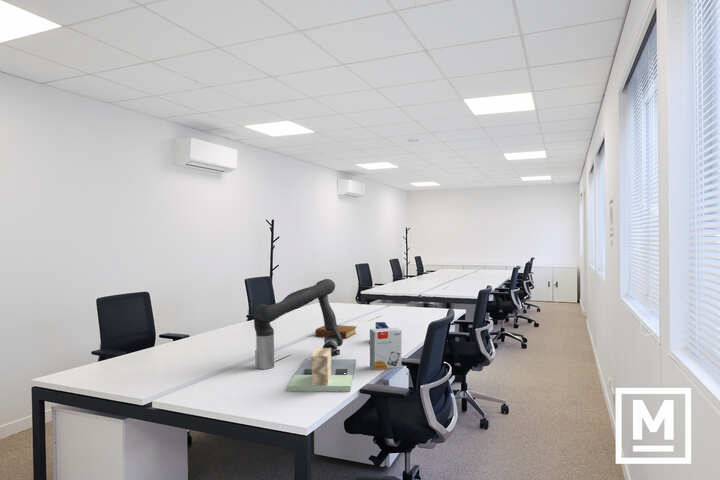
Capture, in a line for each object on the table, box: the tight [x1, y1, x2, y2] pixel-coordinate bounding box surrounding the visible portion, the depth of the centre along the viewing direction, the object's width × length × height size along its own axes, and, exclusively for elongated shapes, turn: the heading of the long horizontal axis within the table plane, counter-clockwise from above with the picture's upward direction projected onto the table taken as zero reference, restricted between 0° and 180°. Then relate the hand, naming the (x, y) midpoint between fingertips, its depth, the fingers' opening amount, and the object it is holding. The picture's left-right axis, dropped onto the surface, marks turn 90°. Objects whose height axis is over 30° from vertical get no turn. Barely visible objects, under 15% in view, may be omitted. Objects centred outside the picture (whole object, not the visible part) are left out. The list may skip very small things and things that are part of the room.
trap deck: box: [287, 358, 357, 393], centre depth 227 cm, size 28×44×2 cm, turn 177°
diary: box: [315, 324, 357, 340], centre depth 321 cm, size 23×19×6 cm
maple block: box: [311, 347, 332, 385], centre depth 213 cm, size 7×15×13 cm, turn 178°
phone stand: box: [375, 321, 390, 329], centre depth 298 cm, size 12×12×12 cm
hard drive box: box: [369, 327, 403, 371], centre depth 241 cm, size 16×8×20 cm, turn 105°
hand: (326, 356), depth 232 cm, fingers closed
